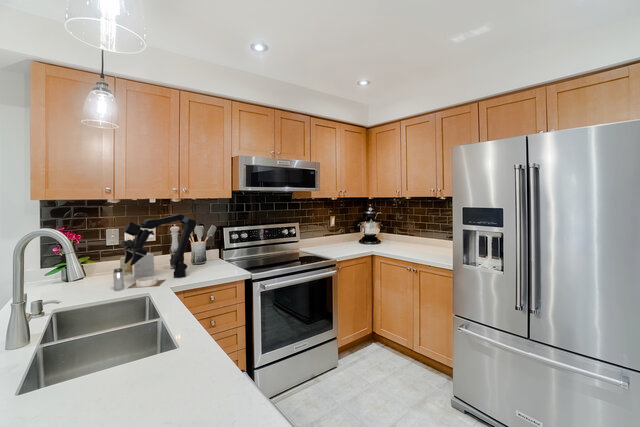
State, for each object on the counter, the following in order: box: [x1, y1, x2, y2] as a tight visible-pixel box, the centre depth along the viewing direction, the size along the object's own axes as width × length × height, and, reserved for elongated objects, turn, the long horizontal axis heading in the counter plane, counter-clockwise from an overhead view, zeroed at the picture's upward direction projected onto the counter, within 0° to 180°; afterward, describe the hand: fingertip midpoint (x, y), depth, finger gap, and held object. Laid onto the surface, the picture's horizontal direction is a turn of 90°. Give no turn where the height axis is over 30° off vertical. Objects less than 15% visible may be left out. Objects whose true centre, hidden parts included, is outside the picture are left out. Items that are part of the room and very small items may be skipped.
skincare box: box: [119, 256, 133, 276], centre depth 202 cm, size 6×4×12 cm
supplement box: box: [133, 252, 155, 278], centre depth 197 cm, size 9×9×15 cm
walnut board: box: [126, 279, 167, 289], centre depth 174 cm, size 17×15×1 cm
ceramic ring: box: [134, 276, 159, 288], centre depth 174 cm, size 11×11×3 cm
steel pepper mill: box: [112, 267, 125, 292], centre depth 163 cm, size 5×5×12 cm
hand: (128, 264), depth 166 cm, fingers open, 9 cm apart
